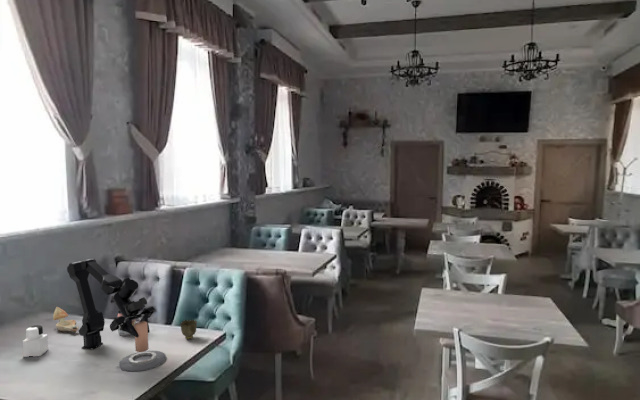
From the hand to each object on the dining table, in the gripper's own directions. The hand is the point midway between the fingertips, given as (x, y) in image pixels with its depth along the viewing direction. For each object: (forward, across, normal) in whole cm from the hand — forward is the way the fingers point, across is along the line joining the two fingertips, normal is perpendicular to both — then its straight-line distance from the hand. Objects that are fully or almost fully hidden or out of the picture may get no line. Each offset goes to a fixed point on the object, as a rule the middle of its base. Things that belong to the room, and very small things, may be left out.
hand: (143, 334), depth 182 cm
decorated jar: (-16, +18, +33) cm, 41 cm away
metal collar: (+7, 0, +9) cm, 12 cm away
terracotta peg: (+4, 0, +6) cm, 7 cm away
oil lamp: (-38, +7, +56) cm, 68 cm away
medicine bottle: (-27, -16, +44) cm, 55 cm away
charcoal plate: (+7, 0, +9) cm, 12 cm away
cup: (+7, +27, +10) cm, 29 cm away
